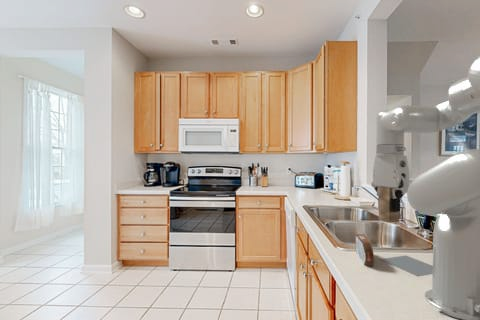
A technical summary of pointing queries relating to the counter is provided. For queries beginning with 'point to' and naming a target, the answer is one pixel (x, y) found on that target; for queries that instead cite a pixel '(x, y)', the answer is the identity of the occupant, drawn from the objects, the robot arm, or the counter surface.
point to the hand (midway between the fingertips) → (388, 209)
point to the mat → (410, 265)
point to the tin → (364, 249)
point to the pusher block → (386, 206)
